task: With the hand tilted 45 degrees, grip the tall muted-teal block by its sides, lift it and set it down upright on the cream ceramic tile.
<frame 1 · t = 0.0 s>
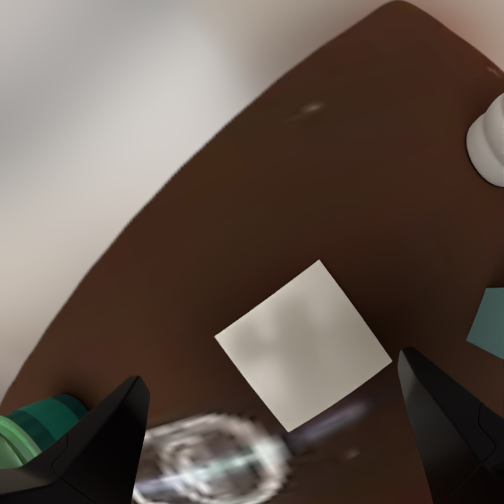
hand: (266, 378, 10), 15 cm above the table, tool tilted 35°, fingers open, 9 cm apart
cream tile: (304, 348, 24), on the table
water bottle: (490, 155, 23), on the table
cup: (81, 423, 26), on the table
teal block: (493, 323, 21), on the table
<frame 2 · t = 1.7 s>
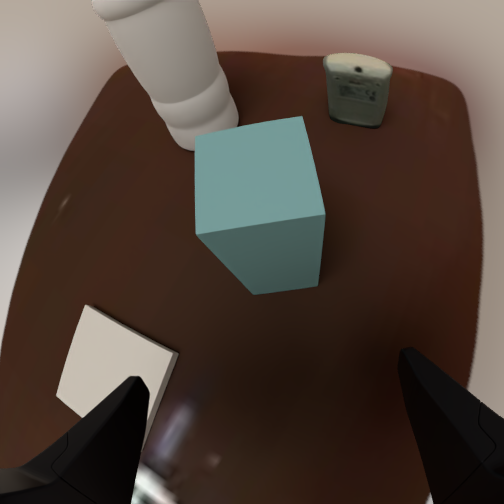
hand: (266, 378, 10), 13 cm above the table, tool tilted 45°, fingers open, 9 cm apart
cream tile: (113, 378, 24), on the table
water bottle: (207, 128, 31), on the table
teal block: (281, 259, 25), on the table
power adapter: (352, 119, 28), on the table
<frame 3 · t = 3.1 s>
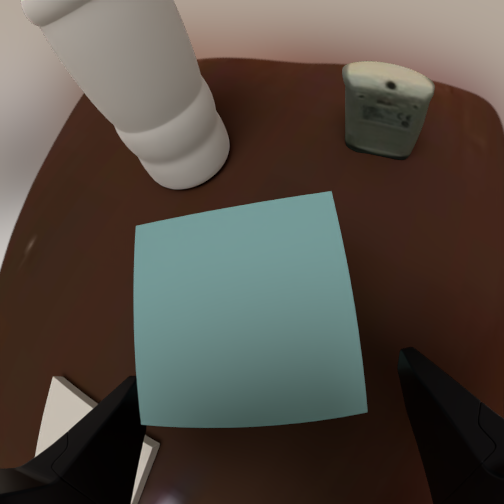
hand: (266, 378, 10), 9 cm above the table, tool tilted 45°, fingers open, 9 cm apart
cream tile: (90, 457, 18), on the table
water bottle: (191, 158, 25), on the table
teal block: (283, 341, 19), on the table
power adapter: (373, 147, 22), on the table
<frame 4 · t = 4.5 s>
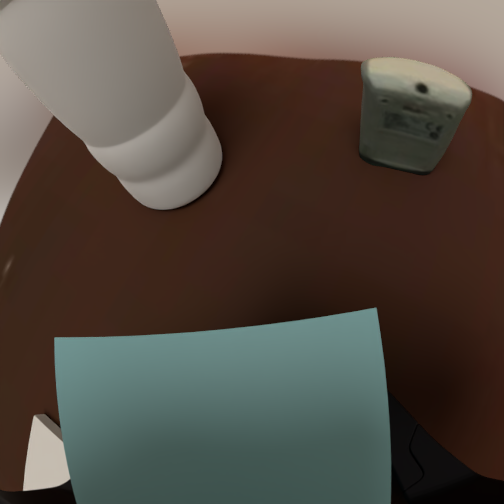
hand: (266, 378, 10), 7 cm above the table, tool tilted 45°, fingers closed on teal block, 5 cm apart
cream tile: (78, 497, 14), on the table
water bottle: (178, 170, 21), on the table
teal block: (285, 394, 15), on the table, touching gripper
power adapter: (391, 159, 19), on the table
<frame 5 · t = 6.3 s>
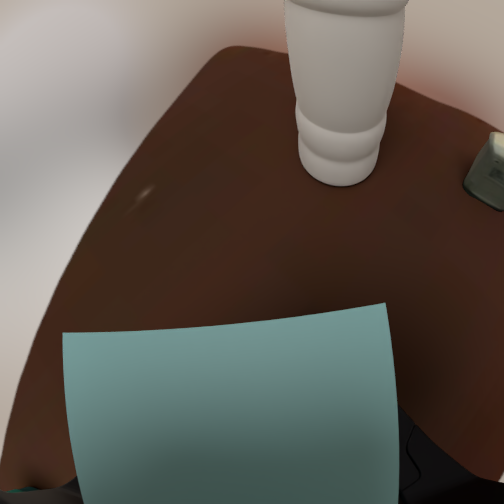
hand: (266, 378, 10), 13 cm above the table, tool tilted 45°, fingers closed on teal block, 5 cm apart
water bottle: (337, 157, 27), on the table
teal block: (286, 392, 15), point 7 cm above the table, touching gripper
power adapter: (480, 194, 23), on the table
when the fingers open (9 cm above the table, at t = 8.2 s): teal block drops 1 cm, resting on cream tile.
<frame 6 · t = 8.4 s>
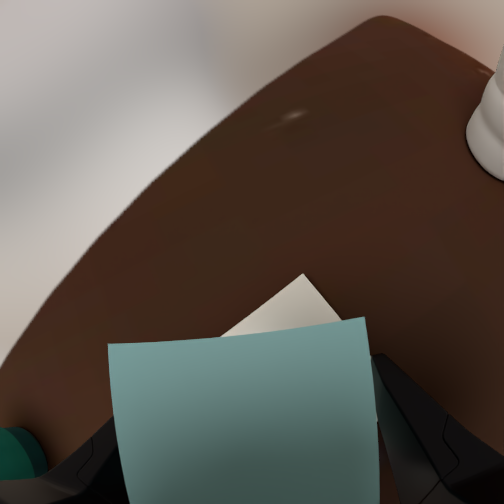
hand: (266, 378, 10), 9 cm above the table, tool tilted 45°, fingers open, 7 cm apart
cream tile: (288, 388, 18), on the table
water bottle: (494, 152, 20), on the table
cup: (36, 463, 18), on the table
teal block: (287, 390, 17), point 1 cm above the table, touching cream tile
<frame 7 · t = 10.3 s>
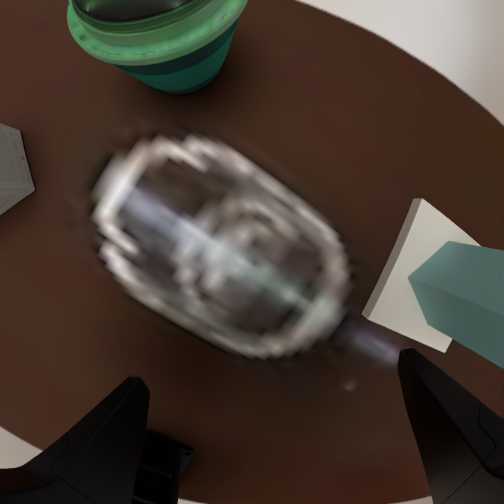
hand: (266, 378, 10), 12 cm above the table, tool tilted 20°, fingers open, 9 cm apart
cream tile: (430, 280, 23), on the table
cup: (178, 74, 19), on the table
teal block: (438, 283, 22), point 1 cm above the table, touching cream tile
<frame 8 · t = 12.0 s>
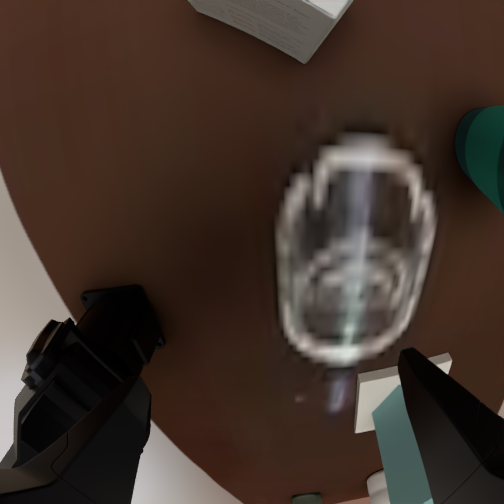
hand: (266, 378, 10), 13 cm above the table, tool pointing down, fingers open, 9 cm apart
cream tile: (399, 393, 29), on the table
water bottle: (385, 472, 39), on the table
cup: (470, 148, 18), on the table
teal block: (402, 401, 27), point 1 cm above the table, touching cream tile
small box: (271, 5, 15), on the table
power adapter: (307, 493, 43), on the table
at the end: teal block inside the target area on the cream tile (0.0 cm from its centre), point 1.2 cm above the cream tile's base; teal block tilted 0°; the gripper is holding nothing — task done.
